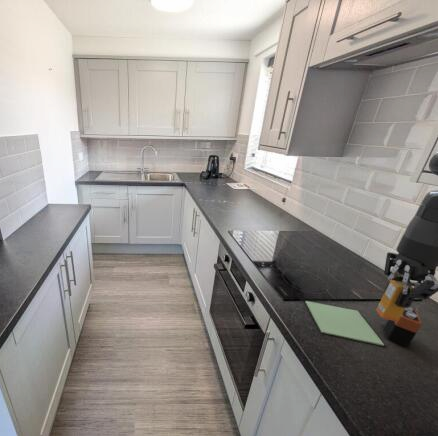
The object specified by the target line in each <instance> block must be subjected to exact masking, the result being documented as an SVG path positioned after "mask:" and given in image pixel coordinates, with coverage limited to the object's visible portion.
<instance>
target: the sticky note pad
mask: <svg viewBox="0 0 438 436" xmlns="http://www.w3.org/2000/svg"><path fill="white" fill-rule="evenodd" d="M305 304H306V306H307V309H308V310H309V312H310V314H311V316H312V318H313V320H314V322H315V324H316V326H317V327H318V329H319V331H320V334H321V333H322V334H327V335H329V336H335V337H340V338H344V339H349V340H354V341H358V342H363V343H366V344H367V343H368V344H372V345H377V346H382V347H385V343H383V341H382V340H381V339H380V337H379V336H378V335H377V334H376V332H375V331H374V329H373V328H372V327H371V326H370V325H369V324H368V322H367V321H366V320H365V318H364V317H363V316H362V315H361V313H360V312H359V311H358V310H357V309H351V308H345V307H340V306H335V305H330V304H324V303H318V302H315V301H309V300H305Z"/></svg>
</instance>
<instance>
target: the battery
mask: <svg viewBox="0 0 438 436" xmlns="http://www.w3.org/2000/svg"><path fill="white" fill-rule="evenodd" d="M422 324H423V323H422V321H421V318H420V316H419V313H418V311H417V310H415V309H414V308H413V307H411V306H410V307H408V308H405V310H404V312H403V313H402V315H401V317H400V319H399V321H398V322H395V321H392V320H387V322H386V323H385V325H384V326H385V331H386V336H387V339H388V340H390V341H391V342H394V343H397V344H399V345H401V346H404V347H409V346H410V344H411V342H412V341H413V340H414V338H415V336H416V335H417V333H418V331H419V330H420V328H421V327H422V326H423V325H422Z"/></svg>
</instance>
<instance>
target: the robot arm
mask: <svg viewBox="0 0 438 436" xmlns="http://www.w3.org/2000/svg"><path fill="white" fill-rule="evenodd" d="M428 169H429V171H430V173H432V174H433V175H435V176H438V151H436V152H435V153H433V155H432V156H431V157H430V160H429V161H428ZM395 249H396V252H387V253H386V257H385V264H384V271H383V274H384V276H387V281H388V282H387V284H386V286H385V288H384V291H383V294H384V293H385V291H386V289H387V287H388V285H389V283H390V281H391V280H395V281H400V282H403V283H404V287H403V290H402V292H401V293H400V295H399V297H398V299H397V301H396V303H395V304H396V305H397V306H398V307H403V308H408V307H411V305H412V304H413V302H414V300H415V299H421V300H427V299H429V298H430V297H432V296H433V295H436V293H438V280H437V278H436V277H435V276H436V271H437V267H438V189H435V190H431V191H428V192H427V193H426V194H425V195H424V196H423V198H422V200H421V202H420V204H419V206H418V208H417V210H416V212H415V214H414V215H413V217H412V218H411V220H410V221H409V223H408V224H407V226H406V228H405V230H404V232H403V235H402V237H401V239H400V241H399V242H398V245H397V246H396V248H395ZM411 287H413V290H410V288H411Z"/></svg>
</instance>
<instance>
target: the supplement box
mask: <svg viewBox="0 0 438 436" xmlns="http://www.w3.org/2000/svg"><path fill="white" fill-rule="evenodd" d="M403 287H404V283H403V282H400V281H395V280H391V281H390V283H389V285H388V287H387V289H386V291H385V290H384V291H385V293H384V292H383V295H382V296H381V298H380V301H379V304H378V306H377V308H376V312H377V314H378V315H379V317H380V318H381V319H383V320H386V321H388V320H392V321H395V322H398V321H399V319H400V317H401V315H402V313H403V312H404V310H405V308H403V307H398V306H397V305H396V304H395V303H396V301H397V299H398V297H399V295H400V293H401V292H402V290H403ZM413 289H414V287H413V286H411V288H410V290H413Z"/></svg>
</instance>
